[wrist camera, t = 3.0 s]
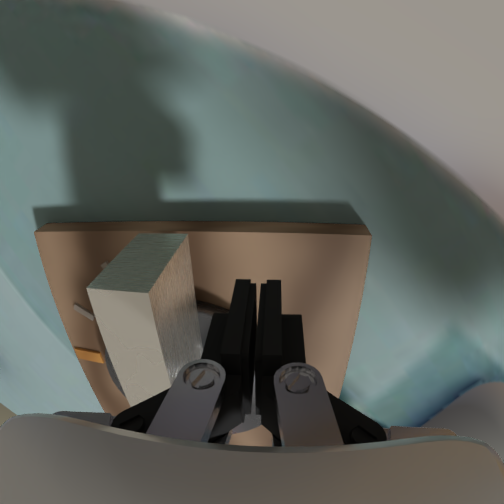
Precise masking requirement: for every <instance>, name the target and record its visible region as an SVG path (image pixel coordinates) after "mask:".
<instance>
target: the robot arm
mask: <svg viewBox="0 0 504 504" xmlns="http://www.w3.org/2000/svg"><path fill="white" fill-rule="evenodd" d="M254 374H255V407H256V415H261V424H262V425H263V426H264V427H265V428H266V429H267V430H269V431H270V432H271V441H272V447H268V446H244V445H229V442H230V439H231V436H232V429H233V428H235V427H237V426H238V425H240V424H241V423H244V419H245V414H251V408H252V396H253V385H254ZM0 504H504V463H503V462H502V460H501V458H500V457H499V455H498V453H497V452H496V451H495V450H494V449H493V448H492V447H491V446H490V445H489V444H487V443H485V442H483V441H480V440H478V439H474V438H469V437H461V436H457V435H456V434H455V433H454V432H452V431H451V430H449V429H444V428H419V427H400V426H391V427H390V429H386V428H382V427H381V426H380V425H379V424H378V423H377V422H375V421H373V420H372V419H370V418H368V417H367V416H365V415H364V414H362V413H360V412H359V411H357V410H356V409H354V408H353V407H351V406H349V405H348V404H346V403H345V402H343V401H342V400H340V399H339V398H337V397H335V396H334V395H332V394H331V393H329V392H328V391H327V390H326V387H325V384H324V381H323V378H322V375H321V374H320V372H319V371H318V370H317V369H316V368H315V367H313V366H311V365H309V364H306V357H305V345H304V334H303V323H302V315H301V314H282V294H281V280H267V283H261V287H260V299H259V310H258V322H257V286H256V283H251V279H236V281H235V285H234V290H233V295H232V299H231V304H230V309H229V313H218V312H214V313H213V316H212V319H211V323H210V327H209V330H208V334H207V338H206V341H205V345H204V349H203V352H202V356H201V359H199V360H194V361H191V362H189V363H187V364H186V365H184V366H183V367H182V368H181V369H180V371H179V372H178V374H177V376H176V378H175V380H174V382H173V384H172V385H171V387H170V388H168V389H166V390H164V391H162V392H161V393H159V394H157V395H155V396H153V397H151V398H149V399H147V400H145V401H143V402H140V403H138V404H136V405H134V406H132V407H130V408H128V409H126V410H124V411H122V412H121V413H119V414H118V415H117V416H112V415H111V413H93V412H70V411H60V412H56V413H54V414H43V413H34V414H23V415H18V416H14V417H12V418H10V419H8V420H7V421H5V422H4V423H3V424H2V425H1V426H0Z"/></svg>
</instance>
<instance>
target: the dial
mask: <svg viewBox="0 0 504 504" xmlns="http://www.w3.org/2000/svg"><path fill="white" fill-rule="evenodd" d="M86 289H87V292H88V295H89V299H90V302H91V305H92V308H93V311H94V314H95V318H96V321H97V324H98V326H99V329H100V332H101V335H102V338H103V341H104V343H105V346H106V349H105V360H106V365H107V369H108V372H109V374H110V376H111V378H112V380H113V382H114V383H115V385H116V386H117V388H118V389H119V390H120V392H121V393H122V394H123V395H124V396H125V397H126V398H127V400H128V402H129V404H130V406H131V407H132V406H134V405H136V404H138V403H140V402H143V401H145V400H147V399H149V398H151V397H153V396H155V395H157V394H159V393H161V392H162V391H164V390H166V389H168V388H170V387H171V385H172V384H173V382H174V380H175V378H176V376H177V374H178V372H179V371H180V369H181V368H182V367H183V366H184V365H186V364H187V363H189V362H191V361H194V360H199V359H201V356H202V352H203V349H204V345H205V341H206V338H207V334H208V330H209V327H210V323H211V319H212V316H213V313H214V312H218V313H229V310H228V309H226V308H223V307H221V306H218V305H214V304H211V303H208V302H203V301H199V300H196V298H195V290H194V282H193V274H192V265H191V256H190V247H189V237H188V234H160V233H139V234H138V235H137V236H136V237H135V238H134V239H133V240H132V241H131V242H130V243H129V244H128V245H127V246H126V247H125V248H124V249H123V250H122V251H121V252H120V253H119V254H118V255H117V256H116V257H115V258H114V259H113V260H112V261H111V262H110V263H109V264H108V265H107V266H106V267H105V268H104V270H103V271H102V272H101V273H100V274H99V275H98V276H97V277H96V278H95V279H94V280H93V281H92V282H91V283H90V285H89V286H88V287H87V288H86ZM260 425H262V424H261V415H256V407H255V374H254V385H253V396H252V408H251V414H245V419H244V423H241V424H240V425H238V426H237V427H235V428H233V429H232V434H236V433H241V432H245V431H249V430H251V429H254V428H256V427H258V426H260Z"/></svg>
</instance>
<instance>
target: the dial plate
mask: <svg viewBox="0 0 504 504" xmlns="http://www.w3.org/2000/svg"><path fill="white" fill-rule="evenodd" d="M139 233H160V234H188V237H189V247H190V256H191V265H192V274H193V282H194V290H195V298H196V300H199V301H203V302H208V303H211V304H214V305H218V306H221V307H223V308H226V309H228V310H229V309H230V304H231V299H232V295H233V290H234V285H235V281H236V279H251V283H256V286H257V322H258V310H259V299H260V287H261V283H267V280H281V294H282V314H301V315H302V323H303V334H304V345H305V357H306V364H309V365H311V366H313V367H315V368H316V369H317V370H318V371H319V372H320V374H321V375H322V378H323V381H324V384H325V387H326V390H327V391H328V392H329V393H331V394H332V395H334V396H335V397H337V398H339V396H340V392H341V388H342V385H343V381H344V377H345V373H346V369H347V365H348V361H349V357H350V352H351V348H352V344H353V339H354V335H355V330H356V325H357V321H358V316H359V311H360V305H361V300H362V295H363V289H364V284H365V278H366V272H367V266H368V259H369V253H370V246H371V238H372V235H371V233H370V232H369V230H368V228H367V227H366V225H358V224H330V223H294V222H239V221H128V222H75V223H47V224H45V225H44V226H42V227H41V228H39V229H38V230H36V231H35V232H34V234H35V238H36V242H37V246H38V249H39V253H40V257H41V260H42V263H43V267H44V270H45V273H46V276H47V280H48V283H49V286H50V289H51V292H52V295H53V298H54V300H55V303H56V306H57V309H58V311H59V314H60V317H61V319H62V322H63V325H64V327H65V330H66V332H67V334H68V337H69V339H70V342H71V344H72V346H73V349H74V351H75V353H76V356H77V358H78V360H79V362H80V364H81V367H82V369H83V371H84V373H85V375H86V377H87V379H88V381H89V383H90V385H91V387H92V389H93V391H94V393H95V395H96V397H97V399H98V401H99V403H100V404H101V406H102V408H103V410H104V412H105V413H111V415H112V416H117V415H118V414H119V413H121V412H122V411H124V410H126V409H128V408H130V407H131V406H130V404H129V402H128V400H127V398H126V397H125V396H124V395H123V394H122V393H121V392H120V390H119V389H118V388H117V386H116V385H115V383H114V382H113V380H112V378H111V376H110V374H109V372H108V369H107V365H106V360H105V349H106V346H105V343H104V341H103V338H102V335H101V332H100V329H99V326H98V324H97V321H96V318H95V314H94V311H93V308H92V305H91V302H90V299H89V295H88V292H87V289H86V288H87V287H88V286H89V285H90V283H91V282H92V281H93V280H94V279H95V278H96V277H97V276H98V275H99V274H100V273H101V272H102V271H103V270H104V268H105V267H106V266H107V265H108V264H109V263H110V262H111V261H112V260H113V259H114V258H115V257H116V256H117V255H118V254H119V253H120V252H121V251H122V250H123V249H124V248H125V247H126V246H127V245H128V244H129V243H130V242H131V241H132V240H133V239H134V238H135V237H136V236H137V235H138V234H139ZM229 445H244V446H268V447H272V441H271V432H270V431H269V430H267V429H266V428H265V427H264V426H263V425H260V426H258V427H256V428H254V429H251V430H249V431H245V432H241V433H236V434H232V436H231V439H230V442H229Z"/></svg>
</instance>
